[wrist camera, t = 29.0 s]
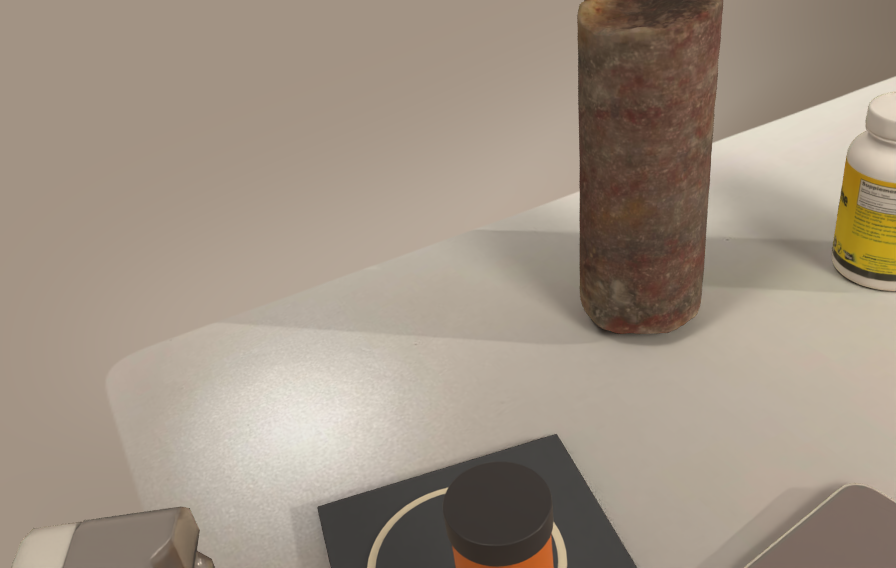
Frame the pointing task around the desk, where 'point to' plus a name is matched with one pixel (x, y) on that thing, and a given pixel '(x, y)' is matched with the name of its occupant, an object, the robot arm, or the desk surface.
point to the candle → (645, 158)
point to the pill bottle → (869, 202)
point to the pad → (423, 526)
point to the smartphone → (839, 534)
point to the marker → (499, 517)
